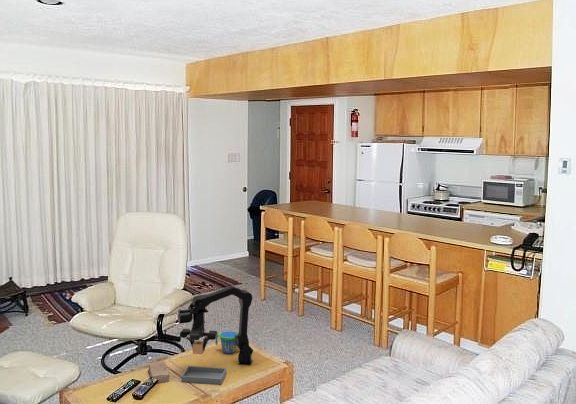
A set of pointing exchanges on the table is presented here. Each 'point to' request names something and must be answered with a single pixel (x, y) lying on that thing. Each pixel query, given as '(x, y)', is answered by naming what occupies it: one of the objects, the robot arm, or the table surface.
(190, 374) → the tray
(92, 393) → the table surface
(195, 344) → the bored block
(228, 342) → the snack cup
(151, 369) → the brick
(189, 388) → the table surface
